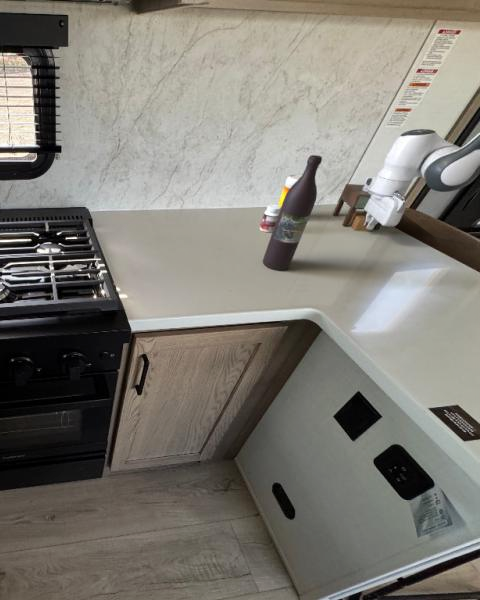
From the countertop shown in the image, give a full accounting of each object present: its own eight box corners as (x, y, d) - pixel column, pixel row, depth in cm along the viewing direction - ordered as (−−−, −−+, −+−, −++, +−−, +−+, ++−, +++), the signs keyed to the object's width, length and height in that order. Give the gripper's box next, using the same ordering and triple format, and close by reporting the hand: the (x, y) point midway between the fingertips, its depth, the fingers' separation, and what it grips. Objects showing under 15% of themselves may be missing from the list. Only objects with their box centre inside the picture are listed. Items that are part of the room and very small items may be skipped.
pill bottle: (260, 225, 122) (267, 202, 117) (275, 228, 120) (283, 205, 115) (258, 230, 119) (265, 207, 114) (273, 233, 117) (281, 210, 112)
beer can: (285, 222, 124) (300, 180, 115) (270, 216, 128) (284, 175, 120) (295, 219, 126) (311, 177, 118) (280, 213, 131) (295, 173, 122)
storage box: (371, 231, 117) (376, 220, 115) (354, 230, 118) (360, 219, 116) (361, 222, 124) (366, 211, 121) (345, 221, 125) (350, 210, 122)
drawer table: (379, 230, 118) (397, 197, 112) (344, 227, 120) (359, 194, 114) (365, 216, 127) (381, 185, 121) (332, 214, 130) (346, 183, 123)
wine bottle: (259, 266, 100) (297, 157, 82) (265, 256, 104) (302, 151, 87) (286, 273, 96) (331, 162, 79) (290, 263, 101) (334, 155, 83)
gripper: (419, 199, 99) (393, 242, 107) (385, 177, 115) (365, 216, 123) (394, 197, 100) (370, 240, 108) (364, 176, 116) (345, 215, 124)
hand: (367, 227), depth 116 cm, fingers closed
